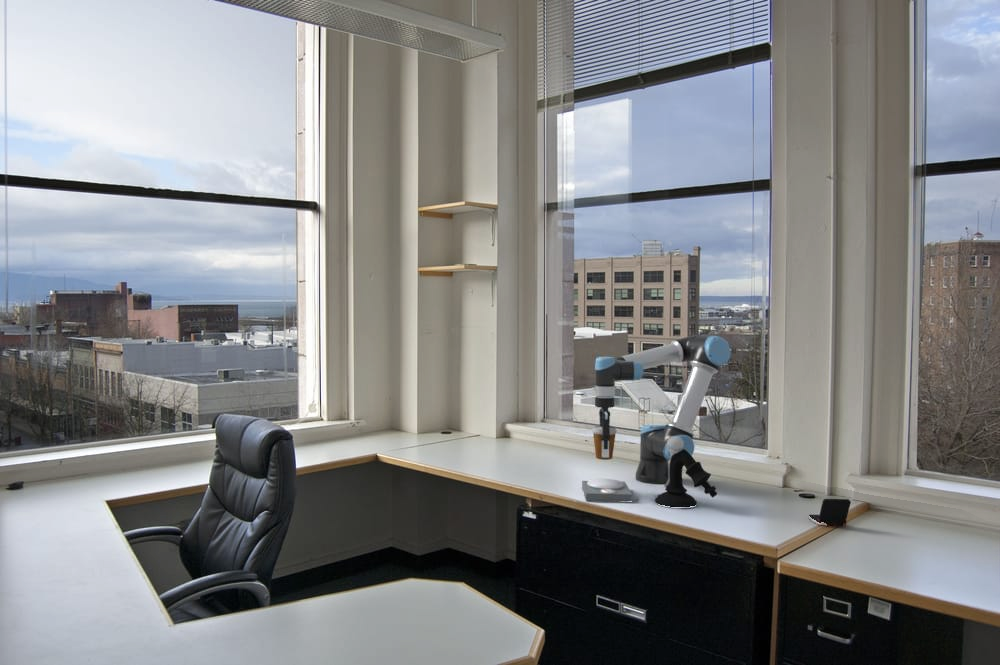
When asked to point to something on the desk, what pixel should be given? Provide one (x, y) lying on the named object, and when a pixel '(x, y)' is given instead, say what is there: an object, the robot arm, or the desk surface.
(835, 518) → the handheld gaming console
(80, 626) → the desk surface
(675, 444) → the sculpture
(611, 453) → the disposable coffee cup
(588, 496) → the dial scale
